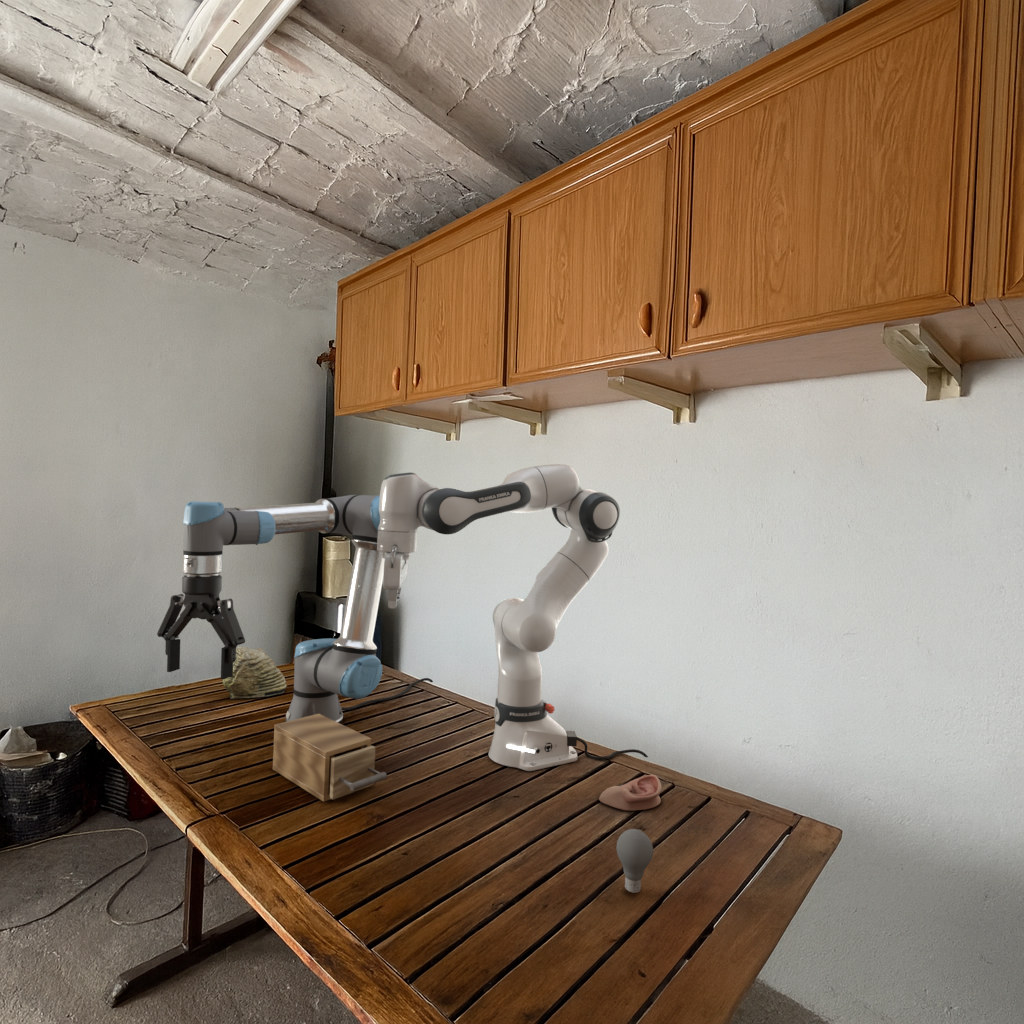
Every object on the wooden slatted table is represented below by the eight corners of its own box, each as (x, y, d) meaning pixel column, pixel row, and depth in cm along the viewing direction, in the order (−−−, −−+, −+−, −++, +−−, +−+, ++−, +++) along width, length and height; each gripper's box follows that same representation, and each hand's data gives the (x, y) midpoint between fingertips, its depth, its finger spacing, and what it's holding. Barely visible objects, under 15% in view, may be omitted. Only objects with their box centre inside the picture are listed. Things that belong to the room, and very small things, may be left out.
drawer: (390, 793, 134) (391, 754, 134) (348, 809, 127) (350, 768, 127) (323, 756, 151) (325, 722, 151) (283, 769, 144) (284, 733, 144)
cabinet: (369, 784, 140) (371, 738, 140) (323, 801, 132) (325, 752, 131) (317, 755, 154) (318, 713, 154) (272, 769, 146) (274, 724, 146)
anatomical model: (598, 788, 134) (602, 766, 145) (597, 806, 134) (601, 783, 146) (662, 796, 132) (661, 774, 143) (662, 815, 132) (660, 791, 143)
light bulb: (610, 879, 108) (613, 822, 108) (644, 879, 109) (647, 822, 109) (619, 902, 102) (622, 840, 102) (655, 901, 103) (658, 840, 103)
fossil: (218, 695, 195) (220, 647, 195) (278, 685, 208) (279, 640, 207) (228, 703, 189) (230, 653, 188) (289, 692, 201) (290, 645, 201)
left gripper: (139, 572, 134) (137, 671, 134) (240, 580, 127) (237, 685, 128) (168, 568, 141) (165, 663, 141) (264, 576, 134) (261, 675, 135)
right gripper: (407, 547, 134) (404, 613, 134) (413, 541, 154) (410, 597, 154) (377, 546, 133) (374, 612, 133) (387, 540, 153) (384, 597, 154)
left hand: (199, 674), depth 134 cm, fingers open, 13 cm apart
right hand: (394, 604), depth 144 cm, fingers open, 8 cm apart
